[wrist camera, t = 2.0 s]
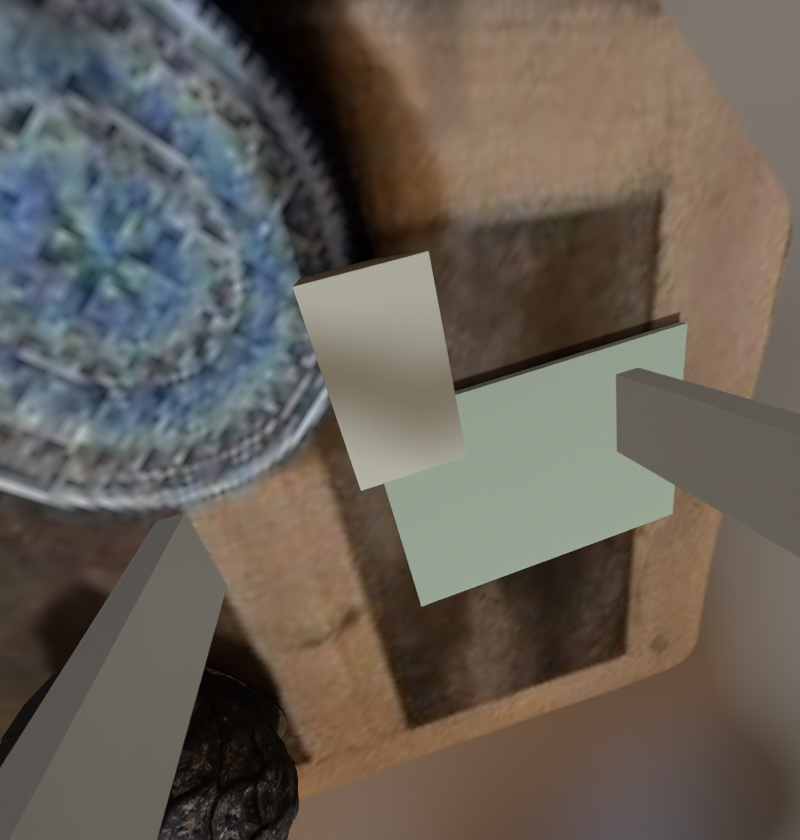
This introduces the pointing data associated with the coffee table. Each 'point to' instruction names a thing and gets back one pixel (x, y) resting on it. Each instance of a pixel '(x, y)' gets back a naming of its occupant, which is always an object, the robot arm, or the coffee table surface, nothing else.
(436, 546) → the mat
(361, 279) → the beige rectangular block
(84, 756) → the robot arm
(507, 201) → the coffee table surface
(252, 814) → the pine cone
